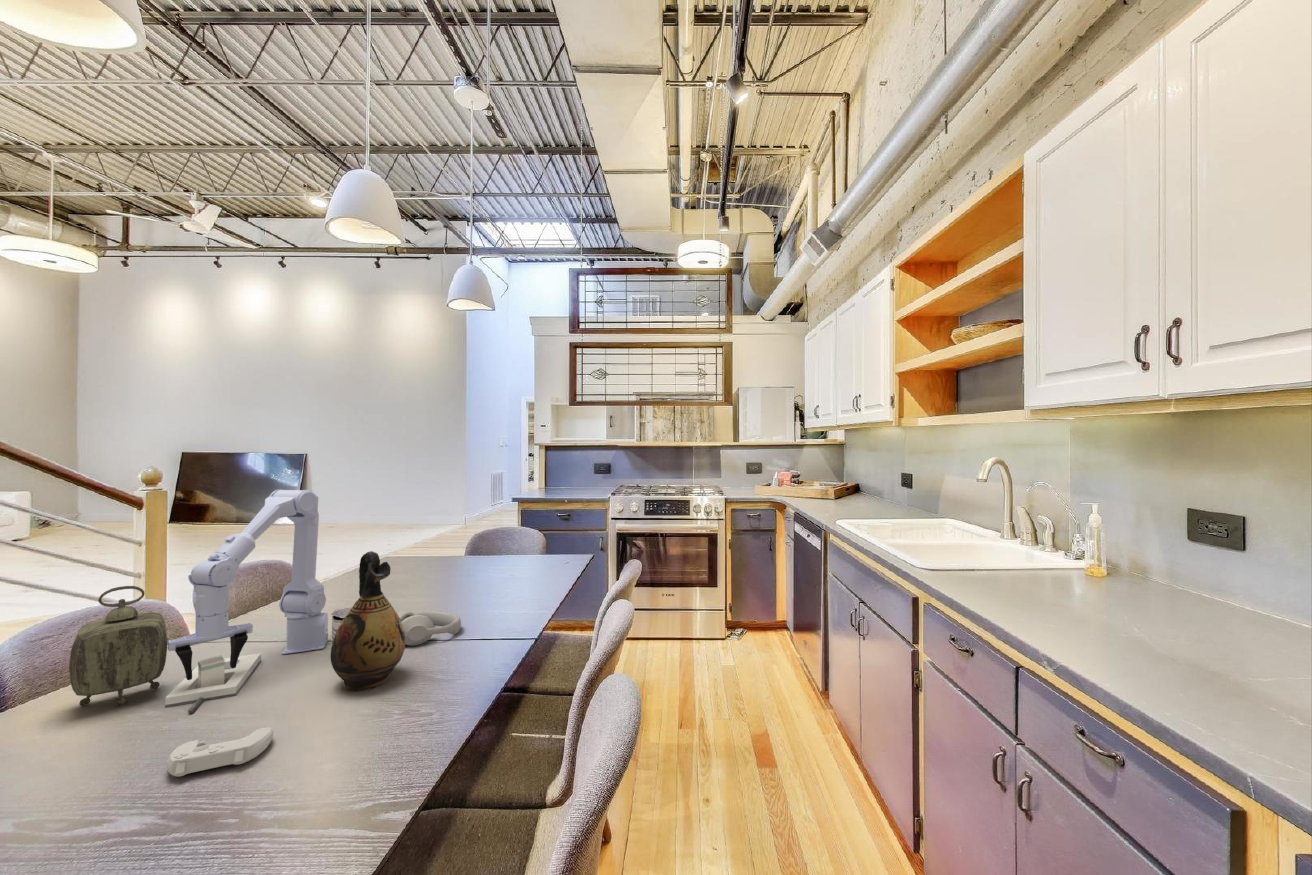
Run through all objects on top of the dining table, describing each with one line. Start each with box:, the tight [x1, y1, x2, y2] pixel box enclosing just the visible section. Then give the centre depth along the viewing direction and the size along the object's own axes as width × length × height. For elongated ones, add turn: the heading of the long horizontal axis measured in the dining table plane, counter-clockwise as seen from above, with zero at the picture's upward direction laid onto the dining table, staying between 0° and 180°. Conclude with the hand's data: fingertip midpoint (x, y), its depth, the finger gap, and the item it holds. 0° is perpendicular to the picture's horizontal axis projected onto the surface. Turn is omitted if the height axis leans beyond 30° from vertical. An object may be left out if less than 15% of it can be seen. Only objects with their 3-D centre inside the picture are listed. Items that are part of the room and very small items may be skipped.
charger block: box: [197, 655, 225, 688], centre depth 116 cm, size 4×4×6 cm
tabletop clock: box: [68, 585, 168, 707], centre depth 111 cm, size 14×9×25 cm, turn 134°
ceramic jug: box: [329, 550, 406, 692], centre depth 121 cm, size 17×15×30 cm
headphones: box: [396, 610, 462, 647], centre depth 149 cm, size 18×8×20 cm
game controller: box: [166, 726, 274, 777], centre depth 90 cm, size 14×4×10 cm
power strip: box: [164, 653, 262, 714], centre depth 117 cm, size 12×26×2 cm, turn 25°
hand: (211, 672), depth 116 cm, fingers open, 7 cm apart
